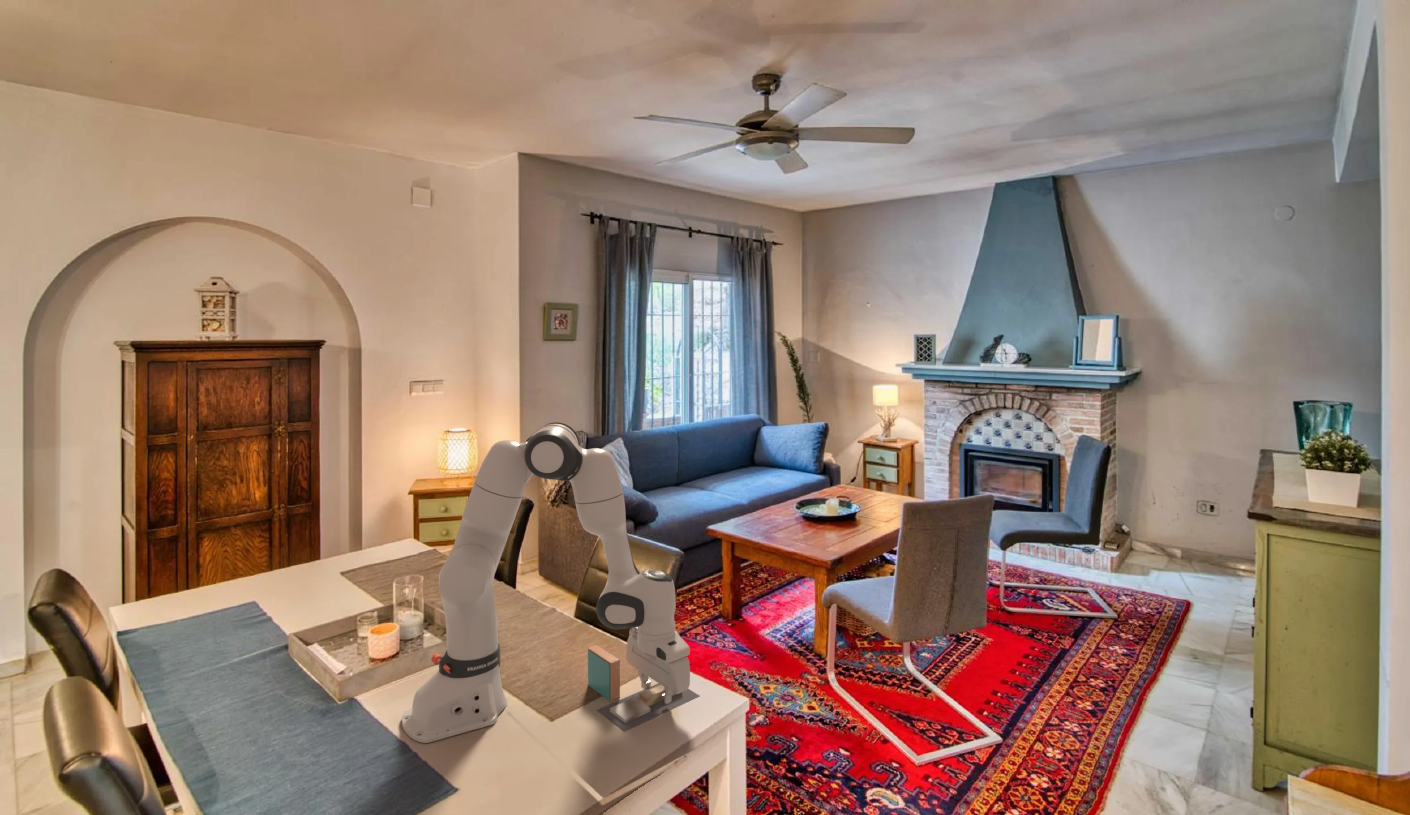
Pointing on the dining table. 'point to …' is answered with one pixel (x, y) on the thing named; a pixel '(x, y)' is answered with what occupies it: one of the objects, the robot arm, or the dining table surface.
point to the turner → (638, 704)
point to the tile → (604, 673)
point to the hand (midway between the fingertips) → (656, 694)
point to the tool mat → (654, 709)
